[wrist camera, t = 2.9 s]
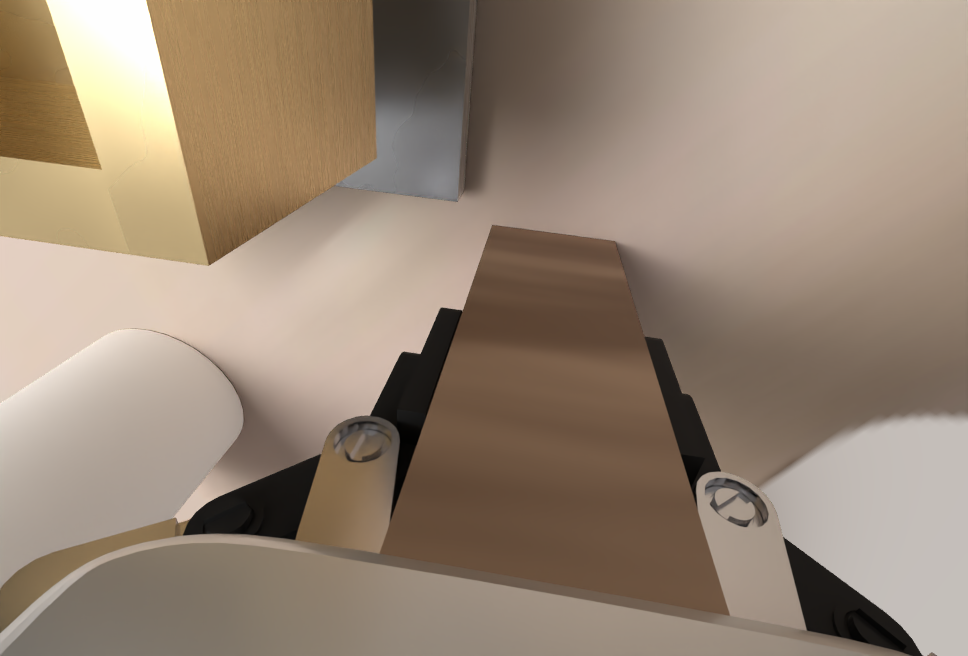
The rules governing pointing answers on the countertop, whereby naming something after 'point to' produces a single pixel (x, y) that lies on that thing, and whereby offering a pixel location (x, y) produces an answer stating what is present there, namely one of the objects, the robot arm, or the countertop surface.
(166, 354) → the cylindrical container
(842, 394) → the countertop surface
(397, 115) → the cup bracket
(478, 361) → the rail post
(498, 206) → the countertop surface
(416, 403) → the robot arm
